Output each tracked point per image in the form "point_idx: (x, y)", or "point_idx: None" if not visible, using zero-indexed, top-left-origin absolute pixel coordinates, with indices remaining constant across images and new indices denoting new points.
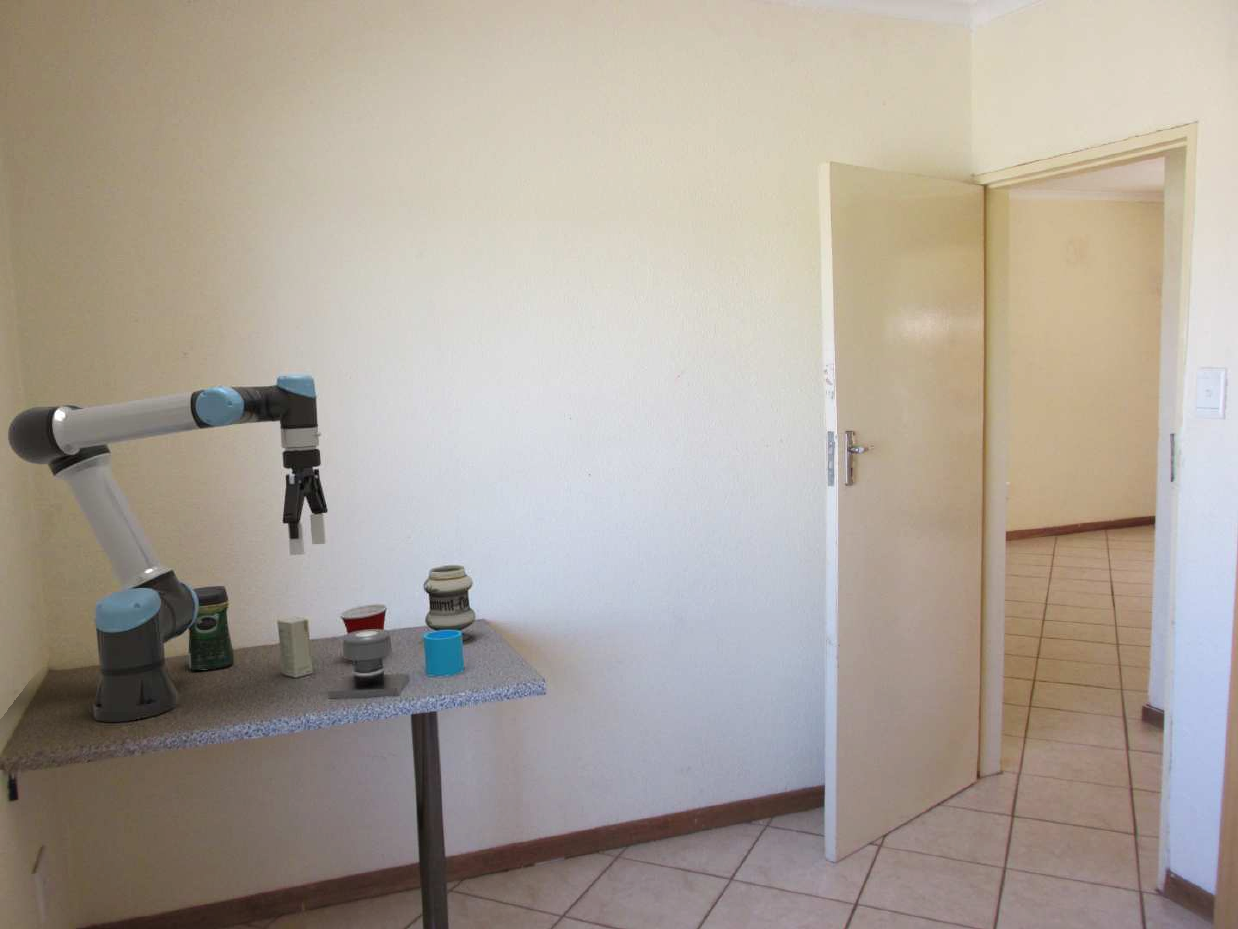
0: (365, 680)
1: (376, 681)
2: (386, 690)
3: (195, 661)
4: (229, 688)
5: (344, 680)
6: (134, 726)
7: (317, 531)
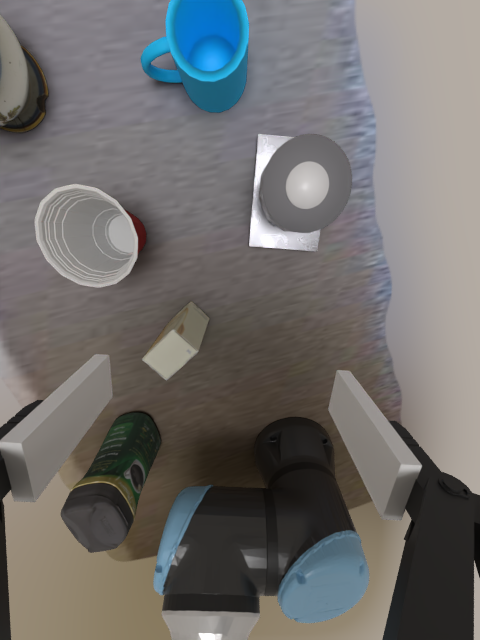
0: None
1: None
2: None
3: (158, 449)
4: (235, 385)
5: (269, 239)
6: None
7: (85, 406)
